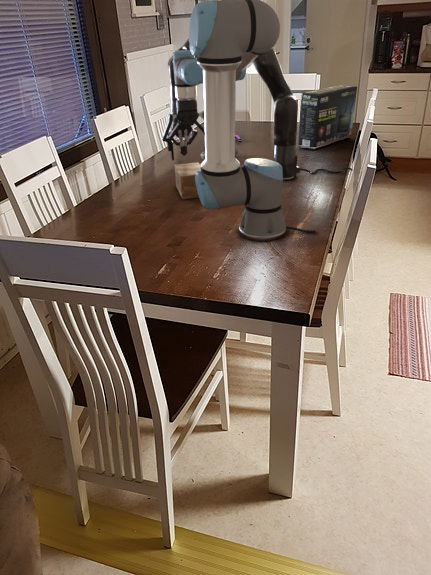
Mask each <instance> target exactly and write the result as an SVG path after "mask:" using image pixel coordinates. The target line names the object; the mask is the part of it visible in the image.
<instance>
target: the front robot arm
mask: <svg viewBox="0 0 431 575" xmlns="http://www.w3.org/2000/svg"><path fill="white" fill-rule="evenodd" d="M188 30H189V31H188V39H189V43H190V50H181V51H178V50H174V52H173V53H172V56H173V66H174V77H175V91H176V98H177V100H176V106H177V114H171V113H168V121H167V123H166V125H165V128H164V130H163V134H162V135H161V140H162V142H165V143H166V148H167V151H168V152H170V159H171V161H175V153H174V142H173V141H172V139H173V138H174V139H175V137H176V133H177V132H178V130H179V129H180V128H181V127H182V125H183V126H188V125H189V126H192V127H193V126H194V125H196V127H197V128H198V129H199V131H200V132H202V133H203V134H204V147H205V150H204V151H205V155H206V158H205V160H202V161H201V162H200V166H201V171H197V172H196V173H195V182H196V187H197V191H198V195H199V197H198V198H199V201H200V203H201V205H202V207H203V208H204V209H206V210H220V209H226V208H227V209H228V208H233V207H239V206H244V211H243V213H242V215H241V217H240V218H241V220H240V222H239V225H238V232H239V235H240V236H241V237H242V238H244V239H247V240H250V241H254V242H271V241H277V240H279V239H281V238H283V237H285V235H286V234H287V230H292V231H296V232H301V233H305V234H316V232H317V230H315V229H314V230H311V229H303V228H298V227H294V226H288V225H287V223H286V221H285V216H284V214H283V210H282V200H283V183H284V180H283V170H282V166H281V165H280V164H279V163H277V162H275V161H273V159H268V158H259V157H253V158H251V157H250V158H247V159H245V160H244V163H243V165H241V162H240V161H239V160H238V159H237V158H236V155H235V148H236V138H235V134H236V94H237V93H236V92H237V90H236V87H237V86H236V83H237V82H238V81H243V80H244V79H245V77H246V74H247V68H248V66H249V65H250V64H251V63H252V62H253V61H254V60H255V59H256V58H257V57H258V56H259V55H264V54H266V53H268V52H269V51H270V50H271V49H272V48H273V49H274V47H275V46H276V45H277V43H278V41H279V38H280V35H281V22H280V18H279V16H278V14H277V12H276V10H274V8H273V7H272V6H270V5H269V4H268V3H267V2H264V1H262V0H205V1H200V2H198V3H196V4H195V5H194V7H193V9H192V11H191V15H190V20H189V26H188ZM195 56H197V59H195ZM201 84H203V110H202V111H200V112H199V111H198V99H197V96H198V92H197V86H199V85H201ZM199 117H200V118H201V119H202V120H203V121H204V122H203V123H204V127H203V126H202V125H201V123H200V122H199V121H198V119H199ZM175 118H177V119H178V120H179V121H178V123H177V124H176V126H175V128H174V129H173V130H172V132H171V133H170V135H169V136H168V133H169V132H170V131H171V128H172V122H173V121H174V119H175Z"/></svg>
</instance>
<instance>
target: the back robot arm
mask: <svg viewBox="0 0 431 575" xmlns="http://www.w3.org/2000/svg"><path fill="white" fill-rule="evenodd" d="M181 50H190V43H189V38H188V39H186V40H185V42H184V44H183V45H181V46H180V48H178V50H177V51H181ZM195 59H197V56H195ZM251 63H252V65H253V67H254V69H255V70H256V73H257V74H258V75H259V77H260V78H261V80H262V81H263V83H264V84H265V85H266V87H267V88H268V91H269V93H270V95H271V98H272V101H273V105H274V108H273V150H272V151H273V152H272V153H273V154H272V155H273V156H272V161H275V162H277V163H279V164H280V165H281V166H282V170H283V181H291V180H294V179H295V178H297V174H300V173H301V171H304V172H307V173H308V172H309V173H308V174H310V175H315V174H316V173H317V172H319V171H322V172H326V173H331V174H339V173H342V172H343V171H340V170H330V169H326V168H316V169H315V170H314V171H310V170H309V169H306V168H301V167H300V166H298V154H296V152H297V134H298V116H299V102H298V99H297V97H296V96H295V94H294V92H293V91H292V89H291V87H290V86H289V84H288V82H287V80H286V78H285V75H284V72H283V69H282V66H281V64H280V61H279V58H278V56H277V54H276V51H275V49H274V47H273V48H272V49H271V50H270V51H269V52H268V53H266V54H264V55H259V56H258V57H257V58H256V59H255V60H254V61H253V62H251ZM167 69H168V72H169V79H170V80H169V81H170V87H169V88H170V90H169V91H170V92H169V93H170V114H177V106H176V100H177V98H176V91H175V77H174V66H173V55H171V56H170V58H169V59H168V61H167ZM178 121H179V120H178V119H177V118H175V119H174V121H173V122H172V125H171V128H170V130H169V133H168V135H167V137H168V136H169V135H170V133H171V132H172V130H173V129H174V128H175V126H176V124H177V123H178ZM198 133H199V132H198V131H197V130H196V129H193V126H189V125H188V126H183V125H182V127H181V128H180V129H179V130H178V132H177V133H176V135H175V137H176V138H177V140H178V141H177V140H176V138H175V137H174V138H173V139H172V140H171V141H172V142H173V144H174V145H175V146H176V147H179V153H180V155H181V156H182V157H184V156H187V154H188V146H189V145H191V144H192V143H193V142H194V140H195V138H196V137H197V135H198ZM188 137H189V138H188ZM329 170H330V171H329ZM341 170H344V171H346V170H349V171H351V172H353V168H351V167H349V166H347V167H344V168H342V169H341ZM310 172H312V173H310Z"/></svg>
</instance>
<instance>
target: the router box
mask: <svg viewBox="0 0 431 575" xmlns="http://www.w3.org/2000/svg"><path fill="white" fill-rule="evenodd" d="M357 93H358V86H356V85H350V84H339V85H338V84H337V85H334V86H328V87H324V88H318V89H314V90H309V91H304V92H301V93H300V109H299V110H300V111H299V123H298V137H297V146H298V145H302V146H307V147H317V146H320V145H323V144H325V143H328V142H331V141H333V140H336V139H338V138H341V137H344V136H347V135H351V136H352V133H353V132H352V131H353V125H354V115H355V109H356V99H357ZM311 151H313V150H312V149H311Z"/></svg>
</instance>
